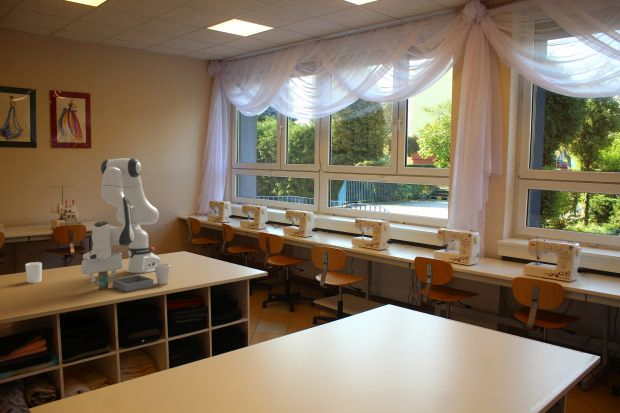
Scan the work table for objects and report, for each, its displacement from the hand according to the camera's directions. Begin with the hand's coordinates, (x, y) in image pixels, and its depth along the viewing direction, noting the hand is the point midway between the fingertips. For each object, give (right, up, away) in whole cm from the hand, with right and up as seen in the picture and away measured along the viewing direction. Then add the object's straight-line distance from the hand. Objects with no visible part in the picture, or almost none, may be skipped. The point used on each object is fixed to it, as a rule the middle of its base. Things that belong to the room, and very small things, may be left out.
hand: (102, 280), depth 257 cm
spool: (0, -5, +1) cm, 5 cm away
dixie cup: (+27, -4, +12) cm, 30 cm away
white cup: (-44, -3, +15) cm, 46 cm away
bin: (+14, -4, +4) cm, 15 cm away
